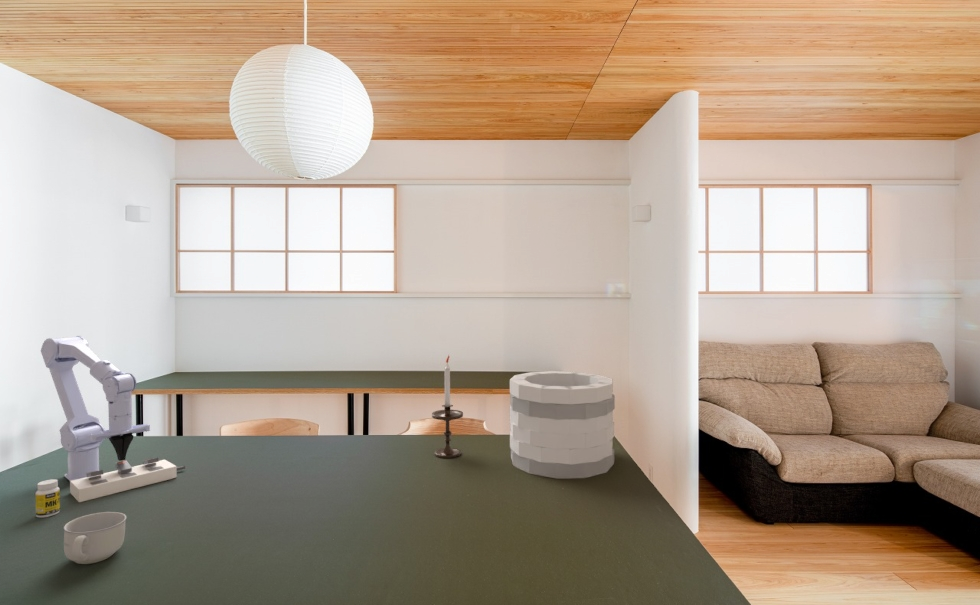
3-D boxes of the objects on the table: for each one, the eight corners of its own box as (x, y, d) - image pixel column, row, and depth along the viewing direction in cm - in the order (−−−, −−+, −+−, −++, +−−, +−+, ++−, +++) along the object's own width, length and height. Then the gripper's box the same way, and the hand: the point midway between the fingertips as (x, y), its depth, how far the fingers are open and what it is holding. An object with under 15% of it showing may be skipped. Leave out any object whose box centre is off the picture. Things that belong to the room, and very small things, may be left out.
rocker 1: (86, 477, 148) (86, 472, 149) (98, 474, 151) (98, 470, 151) (91, 476, 145) (90, 472, 146) (103, 474, 147) (102, 469, 148)
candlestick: (469, 452, 182) (468, 353, 181) (450, 461, 173) (450, 357, 172) (444, 447, 188) (444, 351, 187) (425, 455, 178) (425, 355, 178)
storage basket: (506, 445, 190) (505, 371, 190) (599, 443, 192) (599, 370, 191) (514, 480, 155) (514, 390, 155) (628, 478, 157) (628, 388, 156)
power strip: (70, 493, 147) (69, 478, 146) (178, 466, 168) (178, 454, 168) (79, 502, 140) (78, 487, 140) (190, 473, 162) (190, 460, 162)
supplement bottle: (45, 519, 130) (45, 486, 130) (30, 517, 131) (30, 484, 131) (64, 510, 135) (64, 479, 135) (50, 509, 136) (49, 477, 135)
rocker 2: (115, 466, 154) (115, 462, 154) (126, 463, 156) (126, 460, 156) (120, 474, 151) (120, 470, 151) (131, 471, 153) (131, 467, 153)
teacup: (87, 545, 116) (86, 510, 116) (137, 543, 117) (137, 508, 117) (38, 580, 103) (37, 540, 102) (96, 577, 103) (95, 538, 103)
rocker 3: (142, 464, 159) (142, 460, 159) (153, 462, 161) (152, 458, 162) (148, 463, 156) (147, 459, 156) (158, 461, 158) (158, 457, 158)
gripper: (94, 421, 146) (95, 469, 147) (152, 412, 157) (153, 456, 158) (87, 417, 151) (88, 463, 151) (144, 408, 162) (145, 451, 162)
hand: (121, 459), depth 155 cm, fingers closed
